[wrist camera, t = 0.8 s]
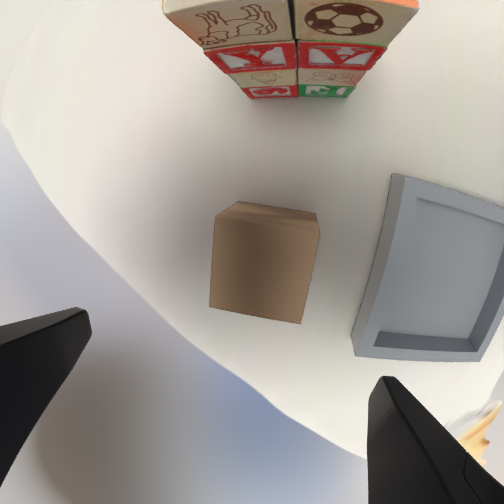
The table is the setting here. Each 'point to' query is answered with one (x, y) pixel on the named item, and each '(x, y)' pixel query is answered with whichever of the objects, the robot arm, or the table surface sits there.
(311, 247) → the walnut cube
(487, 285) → the grey tray
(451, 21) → the table surface
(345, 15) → the stack of blocks
